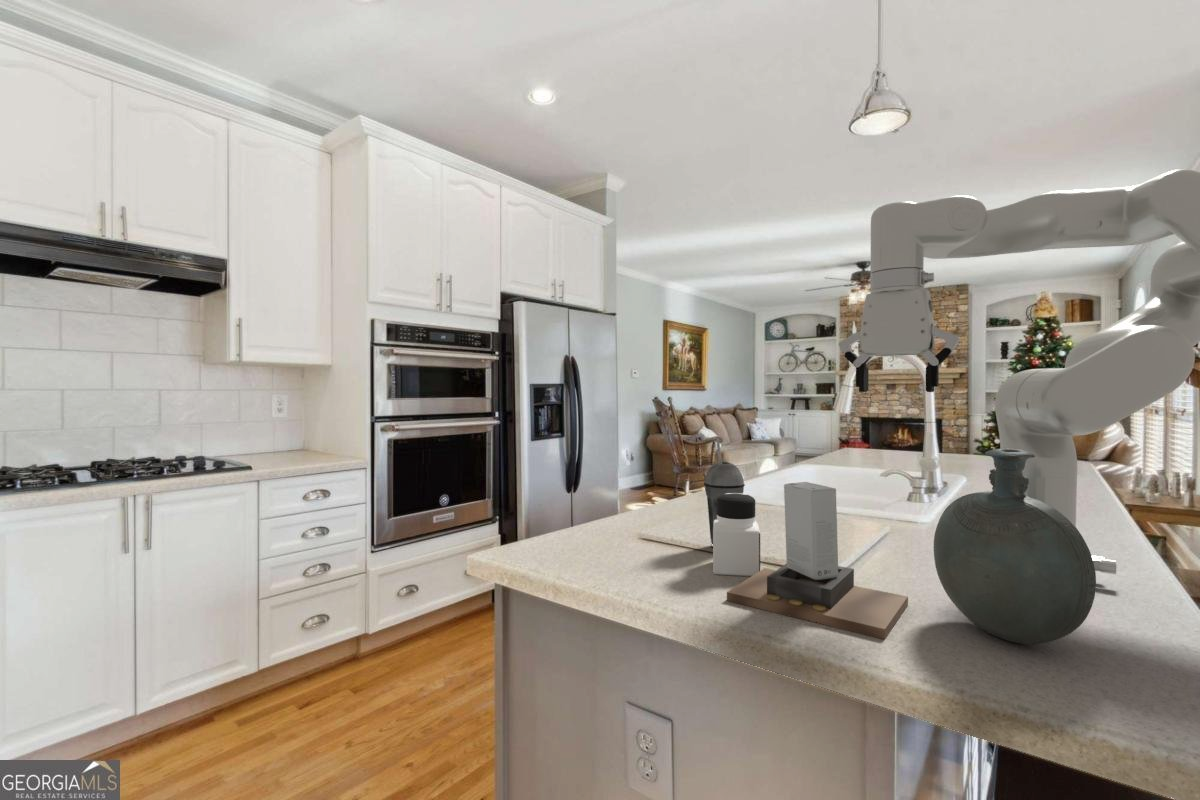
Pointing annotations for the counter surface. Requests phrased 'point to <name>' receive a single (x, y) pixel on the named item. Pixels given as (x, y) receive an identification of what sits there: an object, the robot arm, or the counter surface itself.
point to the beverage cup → (721, 485)
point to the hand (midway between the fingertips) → (895, 391)
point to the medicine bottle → (736, 536)
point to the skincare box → (811, 530)
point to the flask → (1014, 559)
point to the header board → (822, 600)
